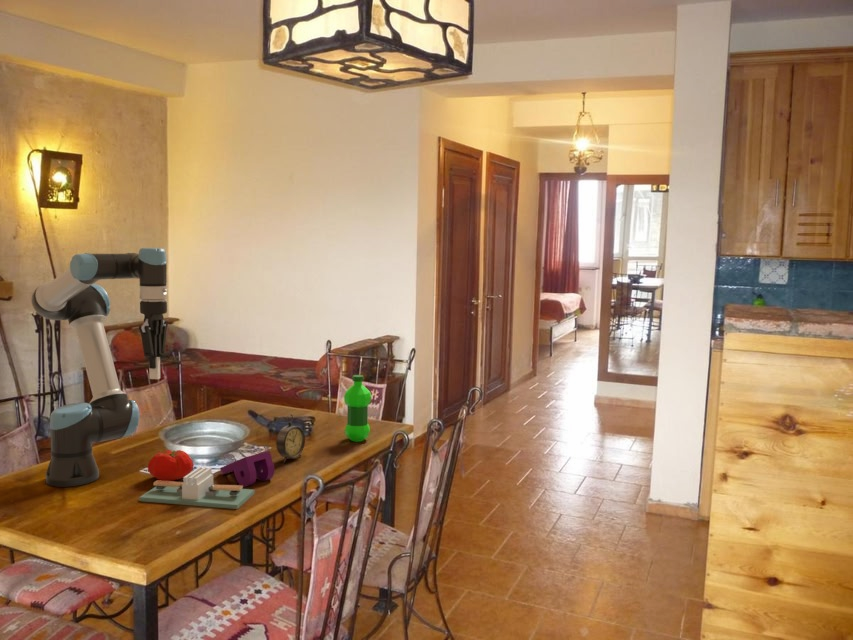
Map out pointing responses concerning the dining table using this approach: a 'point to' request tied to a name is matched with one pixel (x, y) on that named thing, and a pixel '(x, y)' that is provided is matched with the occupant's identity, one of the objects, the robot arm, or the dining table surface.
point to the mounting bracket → (251, 468)
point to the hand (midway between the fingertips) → (154, 378)
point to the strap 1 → (168, 483)
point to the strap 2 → (226, 487)
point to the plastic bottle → (357, 410)
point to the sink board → (203, 501)
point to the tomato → (170, 465)
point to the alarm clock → (290, 441)
